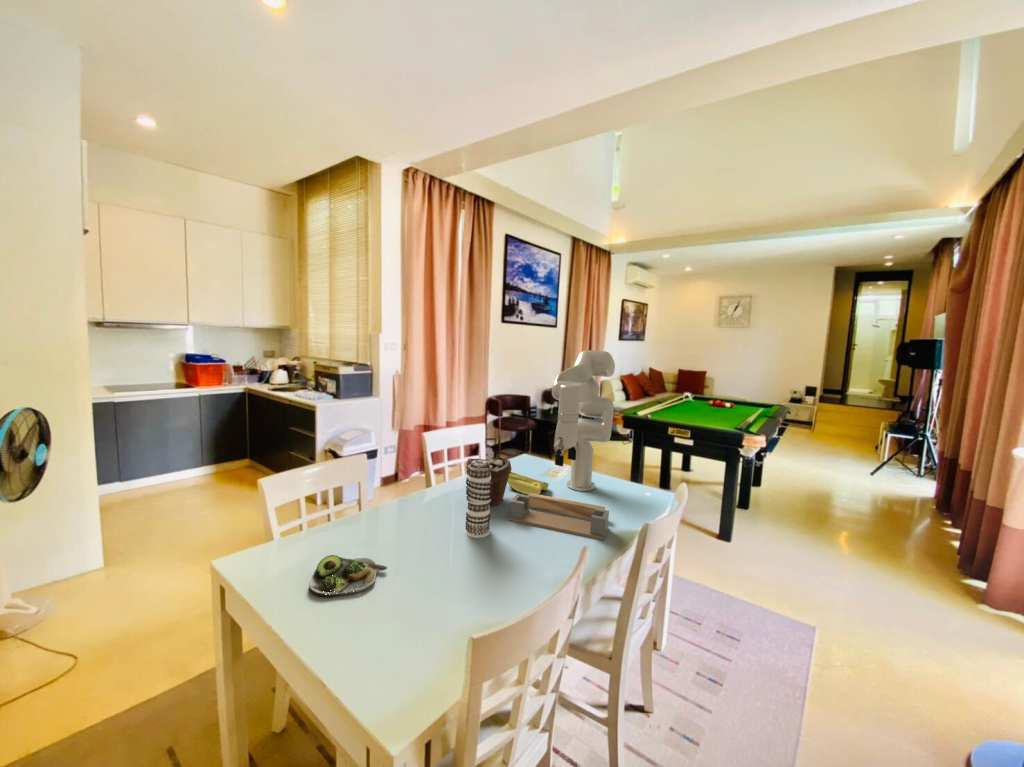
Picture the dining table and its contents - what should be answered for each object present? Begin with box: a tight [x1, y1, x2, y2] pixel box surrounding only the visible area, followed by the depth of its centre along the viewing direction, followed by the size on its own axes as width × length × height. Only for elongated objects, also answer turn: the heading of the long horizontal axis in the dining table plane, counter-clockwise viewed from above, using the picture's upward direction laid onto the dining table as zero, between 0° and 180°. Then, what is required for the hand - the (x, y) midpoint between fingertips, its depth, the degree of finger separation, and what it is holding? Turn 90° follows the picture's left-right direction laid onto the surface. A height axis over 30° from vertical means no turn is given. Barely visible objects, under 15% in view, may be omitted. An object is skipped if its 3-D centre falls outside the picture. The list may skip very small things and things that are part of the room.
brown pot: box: [465, 457, 513, 507], centre depth 172 cm, size 18×20×18 cm
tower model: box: [465, 460, 493, 539], centre depth 143 cm, size 9×9×25 cm
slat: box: [527, 493, 606, 520], centre depth 163 cm, size 3×30×5 cm, turn 69°
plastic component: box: [507, 471, 550, 496], centre depth 187 cm, size 20×7×10 cm
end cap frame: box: [508, 493, 610, 541], centre depth 153 cm, size 10×35×7 cm, turn 69°
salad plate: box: [308, 554, 388, 598], centre depth 116 cm, size 19×18×5 cm
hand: (565, 462), depth 157 cm, fingers open, 9 cm apart
